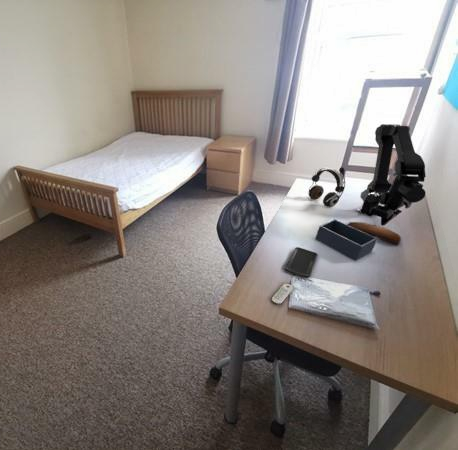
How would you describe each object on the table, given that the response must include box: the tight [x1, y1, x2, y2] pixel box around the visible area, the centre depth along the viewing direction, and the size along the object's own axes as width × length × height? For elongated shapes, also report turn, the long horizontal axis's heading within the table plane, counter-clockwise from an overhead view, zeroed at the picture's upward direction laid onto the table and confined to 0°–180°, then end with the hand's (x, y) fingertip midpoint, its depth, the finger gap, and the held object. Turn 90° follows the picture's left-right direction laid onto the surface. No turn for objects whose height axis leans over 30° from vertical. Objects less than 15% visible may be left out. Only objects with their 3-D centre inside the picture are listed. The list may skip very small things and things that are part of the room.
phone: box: [284, 246, 319, 279], centre depth 100 cm, size 8×1×15 cm
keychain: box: [271, 283, 294, 305], centre depth 88 cm, size 10×1×3 cm
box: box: [315, 218, 379, 262], centre depth 106 cm, size 10×16×6 cm, turn 28°
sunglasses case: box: [347, 221, 401, 245], centre depth 113 cm, size 18×7×7 cm
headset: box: [308, 166, 346, 208], centre depth 133 cm, size 17×8×20 cm, turn 20°
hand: (382, 225), depth 116 cm, fingers closed
